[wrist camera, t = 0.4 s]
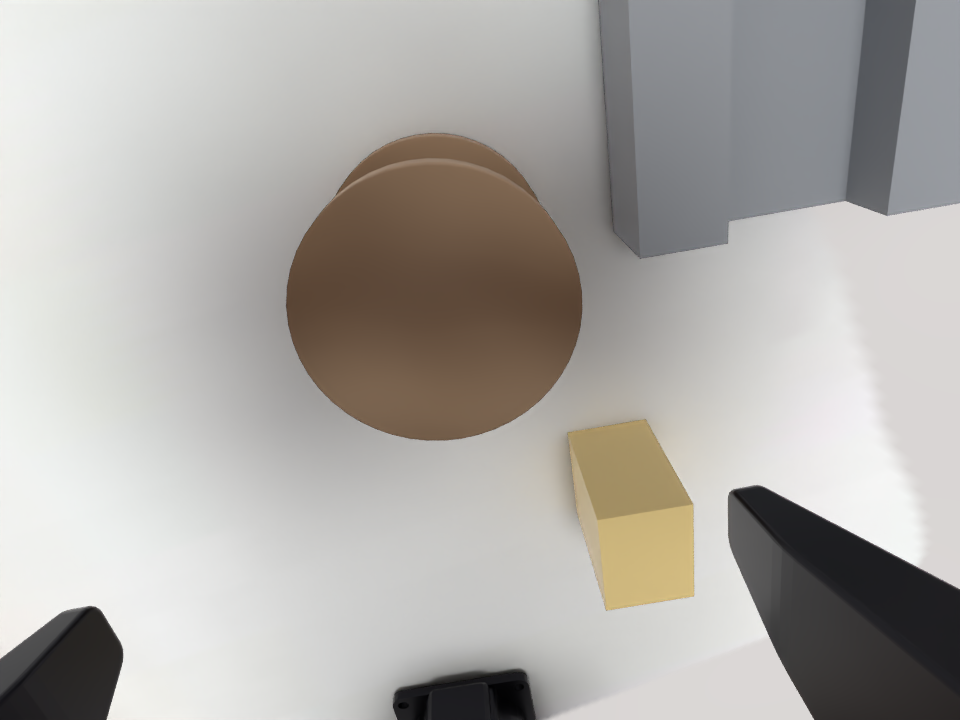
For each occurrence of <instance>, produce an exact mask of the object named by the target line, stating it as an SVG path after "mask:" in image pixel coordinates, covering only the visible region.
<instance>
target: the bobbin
mask: <svg viewBox="0 0 960 720" xmlns="http://www.w3.org/2000/svg"><path fill="white" fill-rule="evenodd" d="M286 309H287V318H288V326H289V329H290V333H291V337H292V341H293V344H294V347H295V349H296V351H297V354H298V356H299V359H300V361H301V362H302V364H303V366H304V368H305V369H306V371H307V373H308V374H309V376H310V377H311V378H312V380H313V381H314V382H315V384H316V385H317V386H318V388H319V389H320V390H321V391H322V392H323V393H324V394H325V395H326V396H327V397H328V398H329V399H330V400H331V401H332V402H333V403H334V404H336V405H337V406H338V407H339V408H341V409H342V410H343V411H344V412H346V413H347V414H349V415H351V416H352V417H354V418H355V419H357V420H359V421H360V422H362V423H364V424H366V425H369V426H371V427H373V428H375V429H377V430H380V431H383V432H386V433H389V434H392V435H396V436H401V437H405V438H410V439H419V440H453V439H462V438H466V437H471V436H475V435H479V434H482V433H485V432H488V431H491V430H494V429H496V428H498V427H500V426H502V425H505V424H507V423H509V422H511V421H512V420H514V419H516V418H517V417H519V416H520V415H522V414H523V413H525V412H526V411H528V410H529V409H530V408H531V407H533V406H534V405H535V404H536V403H537V402H539V401H540V400H541V399H542V398H543V397H544V396H545V394H546V393H547V392H548V391H549V390H550V389H551V388H552V387H553V385H554V384H555V383H556V381H557V380H558V379H559V377H560V376H561V374H562V373H563V371H564V369H565V367H566V366H567V364H568V362H569V360H570V358H571V355H572V353H573V350H574V348H575V346H576V342H577V338H578V334H579V331H580V326H581V317H582V290H581V284H580V278H579V273H578V270H577V267H576V263H575V260H574V257H573V255H572V253H571V251H570V248H569V246H568V244H567V242H566V240H565V238H564V237H563V235H562V234H561V232H560V231H559V229H558V228H557V226H556V225H555V223H554V222H553V220H552V219H551V217H550V216H549V214H548V213H547V212H546V211H545V210H544V208H543V207H542V206H541V205H540V204H539V202H538V200H537V198H536V196H535V194H534V192H533V191H532V189H531V188H530V186H529V185H528V183H527V182H526V180H525V179H524V177H523V176H522V175H521V174H520V173H519V172H518V170H517V169H516V168H515V167H514V166H513V165H512V164H511V163H510V162H509V161H507V160H506V159H505V158H504V157H503V156H502V155H500V154H499V153H497V152H496V151H494V150H493V149H491V148H489V147H487V146H485V145H483V144H481V143H479V142H477V141H474V140H471V139H468V138H465V137H462V136H456V135H451V134H439V133H428V134H419V135H413V136H409V137H405V138H401V139H399V140H396V141H394V142H391V143H389V144H386V145H385V146H383V147H381V148H380V149H378V150H376V151H374V152H373V153H372V154H370V155H369V156H368V157H367V158H365V159H364V160H363V161H362V162H361V163H360V164H359V165H358V166H357V167H356V168H355V169H354V170H353V171H352V172H351V174H350V175H349V176H348V178H347V179H346V180H345V182H344V183H343V185H342V186H341V187H340V189H339V190H338V192H337V194H336V196H335V197H334V198H333V199H332V201H331V202H330V203H329V204H328V205H327V206H326V207H325V208H324V209H323V210H322V212H321V213H320V214H319V216H318V217H317V218H316V220H315V221H314V223H313V224H312V225H311V227H310V228H309V230H308V231H307V232H306V234H305V236H304V237H303V239H302V241H301V243H300V245H299V247H298V249H297V251H296V254H295V257H294V260H293V263H292V266H291V269H290V274H289V279H288V285H287V300H286Z"/></svg>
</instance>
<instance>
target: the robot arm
mask: <svg viewBox="0 0 960 720" xmlns="http://www.w3.org/2000/svg"><path fill="white" fill-rule="evenodd" d="M728 537H729V543H730V547H731V550H732V553H733V555H734V558H735V560H736V562H737V564H738V567H739V569H740V571H741V574H742V576H743V578H744V580H745V583H746V585H747V587H748V589H749V592H750V594H751V596H752V598H753V601H754V603H755V605H756V608H757V610H758V612H759V614H760V617H761V619H762V621H763V623H764V626H765V628H766V630H767V633H768V635H769V637H770V639H771V641H772V643H773V646H774V648H775V650H776V652H777V654H778V656H779V658H780V660H781V662H782V664H783V665H784V667H785V669H786V671H787V673H788V675H789V676H790V678H791V680H792V682H793V683H794V685H795V687H796V689H797V690H798V692H799V694H800V696H801V697H802V699H803V701H804V703H805V704H806V706H807V708H808V709H809V711H810V713H811V715H812V717H813V718H814V720H960V589H958V588H956V587H954V586H953V585H951V584H949V583H947V582H945V581H943V580H941V579H939V578H937V577H935V576H933V575H932V574H929V573H928V572H926V571H924V570H922V569H920V568H918V567H916V566H914V565H912V564H910V563H909V562H907V561H905V560H903V559H901V558H899V557H897V556H895V555H893V554H891V553H889V552H888V551H886V550H884V549H882V548H880V547H878V546H876V545H874V544H872V543H870V542H868V541H866V540H865V539H863V538H861V537H859V536H857V535H855V534H853V533H851V532H849V531H847V530H845V529H844V528H842V527H840V526H838V525H836V524H834V523H832V522H830V521H828V520H826V519H824V518H822V517H821V516H819V515H817V514H815V513H813V512H811V511H809V510H807V509H805V508H803V507H801V506H800V505H798V504H796V503H794V502H792V501H790V500H788V499H786V498H784V497H782V496H780V495H778V494H777V493H775V492H773V491H771V490H769V489H767V488H765V487H763V486H759V485H754V486H749V487H743V488H738V489H733V490H732V491H731V492H730V493H729V496H728ZM122 663H123V648H122V645H121V643H120V641H119V639H118V637H117V636H116V634H115V633H114V631H113V629H112V628H111V626H110V624H109V623H108V621H107V619H106V618H105V616H104V614H103V613H102V612H101V610H100V609H98V608H96V607H94V606H87V607H81V608H76V609H70V610H67V611H64V612H62V613H60V614H59V615H57V616H56V617H55V618H53V619H52V620H51V621H49V622H48V623H47V624H45V625H44V626H43V627H42V628H40V629H39V630H38V631H36V632H35V633H34V634H32V635H31V636H30V637H28V638H27V639H26V640H24V641H23V642H22V643H21V644H19V645H18V646H17V647H15V648H14V649H13V650H11V651H10V652H9V653H7V654H6V655H5V656H3V657H2V658H1V659H0V720H107V716H108V713H109V709H110V706H111V702H112V699H113V695H114V692H115V688H116V684H117V681H118V677H119V674H120V670H121V667H122ZM393 709H394V711H395V714H396V717H397V720H536V717H535V711H534V706H533V701H532V696H531V691H530V685H529V680H528V677H527V675H526V674H524V673H520V672H519V673H511V674H504V675H498V676H492V677H486V678H479V679H473V680H467V681H461V682H454V683H448V684H442V685H436V686H429V687H423V688H417V689H411V690H405V691H400V692H397V693H396V694H395V695H394V697H393Z"/></svg>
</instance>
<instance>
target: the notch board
mask: <svg viewBox="0 0 960 720" xmlns="http://www.w3.org/2000/svg"><path fill="white" fill-rule="evenodd" d="M599 14H600V29H601V44H602V60H603V75H604V90H605V106H606V121H607V136H608V151H609V167H610V182H611V197H612V213H613V228H614V232H615V233H616V234H617V235H618V236H619V237H620V238H621V239H622V241H623V242H624V243H625V244H626V245H627V246H628V247H629V248H630V249H631V250H632V251H633V252H634V253H635V254H636V255H637V256H638V257H639V258H640V259H641V258H647V257H653V256H658V255H664V254H670V253H676V252H682V251H687V250H693V249H699V248H705V247H710V246H716V245H722V244H728V221H732V220H738V219H744V218H750V217H755V216H761V215H767V214H772V213H778V212H784V211H790V210H795V209H801V208H807V207H813V206H818V205H824V204H830V203H835V202H841V201H847V202H850V203H853V204H856V205H858V206H861V207H864V208H867V209H870V210H872V211H875V212H878V213H881V214H883V215H886V216H889V215H895V214H900V213H906V212H912V211H918V210H924V209H929V208H935V207H941V206H947V205H952V204H958V203H960V0H599Z"/></svg>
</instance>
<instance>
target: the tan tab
mask: <svg viewBox="0 0 960 720" xmlns="http://www.w3.org/2000/svg"><path fill="white" fill-rule="evenodd" d="M568 440H569V448H570V457H571V465H572V474H573V482H574V491H575V499H576V508H577V514H578V518H579V521H580V524H581V528H582V531H583V535H584V538H585V541H586V545H587V548H588V551H589V555H590V558H591V561H592V565H593V568H594V571H595V575H596V578H597V581H598V585H599V588H600V591H601V595H602V598H603V601H604V605H605V608H606V611H607V610H613V609H619V608H625V607H631V606H637V605H643V604H650V603H656V602H662V601H668V600H674V599H680V598H686V597H693V596H694V529H693V503H692V501H691V499H690V498H689V496H688V494H687V492H686V491H685V489H684V487H683V485H682V483H681V482H680V480H679V478H678V476H677V475H676V473H675V471H674V469H673V467H672V466H671V464H670V462H669V460H668V459H667V457H666V455H665V453H664V451H663V450H662V448H661V446H660V444H659V443H658V441H657V439H656V437H655V435H654V434H653V432H652V430H651V428H650V427H649V425H648V423H647V421H646V419H644V420H639V421H633V422H627V423H621V424H615V425H609V426H603V427H597V428H591V429H585V430H579V431H573V432H568Z"/></svg>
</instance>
